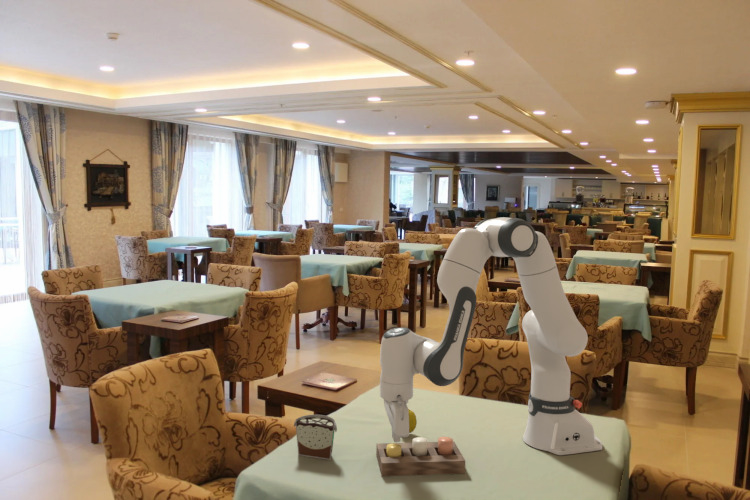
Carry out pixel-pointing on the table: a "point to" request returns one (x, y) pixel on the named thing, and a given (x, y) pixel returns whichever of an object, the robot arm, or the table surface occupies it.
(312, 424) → the food container
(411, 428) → the lemon
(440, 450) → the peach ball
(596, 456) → the table surface
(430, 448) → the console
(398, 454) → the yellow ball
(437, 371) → the robot arm
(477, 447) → the table surface
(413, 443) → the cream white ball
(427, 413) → the table surface
